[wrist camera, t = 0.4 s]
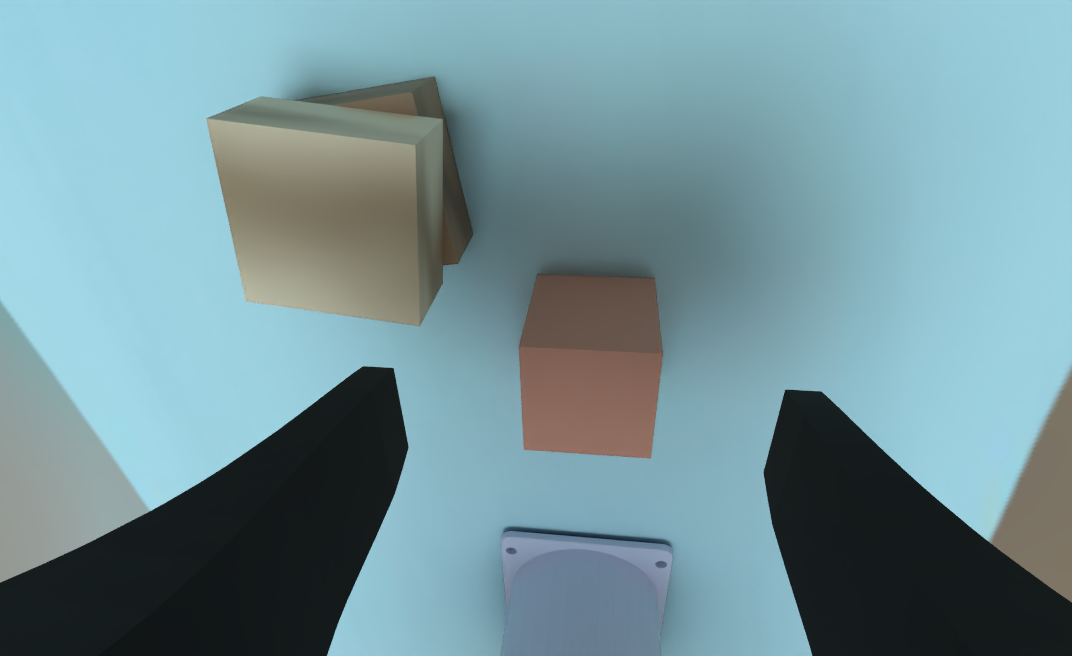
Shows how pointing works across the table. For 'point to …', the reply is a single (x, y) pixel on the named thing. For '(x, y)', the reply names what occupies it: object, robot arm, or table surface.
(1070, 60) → the table surface
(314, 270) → the tower top
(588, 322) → the block
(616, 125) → the table surface
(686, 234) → the table surface
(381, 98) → the tower base
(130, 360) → the table surface
